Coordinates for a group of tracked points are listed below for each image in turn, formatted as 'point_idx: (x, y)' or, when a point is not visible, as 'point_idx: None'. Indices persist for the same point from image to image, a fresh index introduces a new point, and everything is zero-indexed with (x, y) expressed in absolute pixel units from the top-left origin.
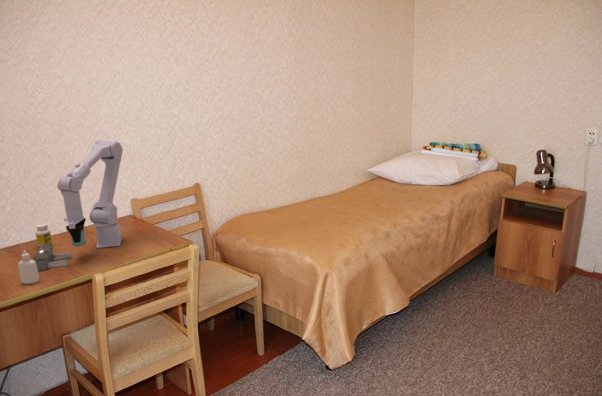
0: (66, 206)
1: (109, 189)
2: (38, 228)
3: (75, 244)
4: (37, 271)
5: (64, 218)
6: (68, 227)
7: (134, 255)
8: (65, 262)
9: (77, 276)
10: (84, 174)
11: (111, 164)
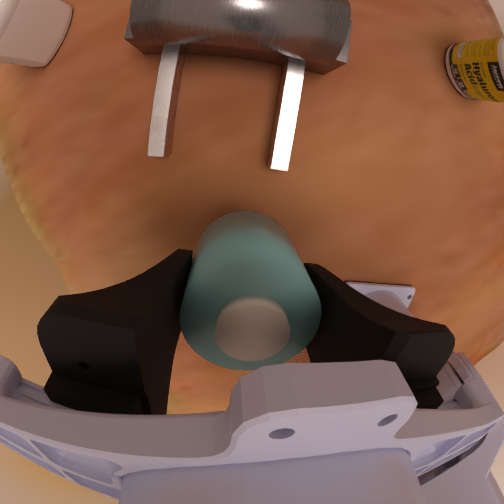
0: None
1: None
2: None
3: (199, 242)
4: (16, 62)
5: (363, 416)
6: (46, 346)
7: (191, 392)
8: (151, 147)
9: (38, 217)
10: None
11: None
